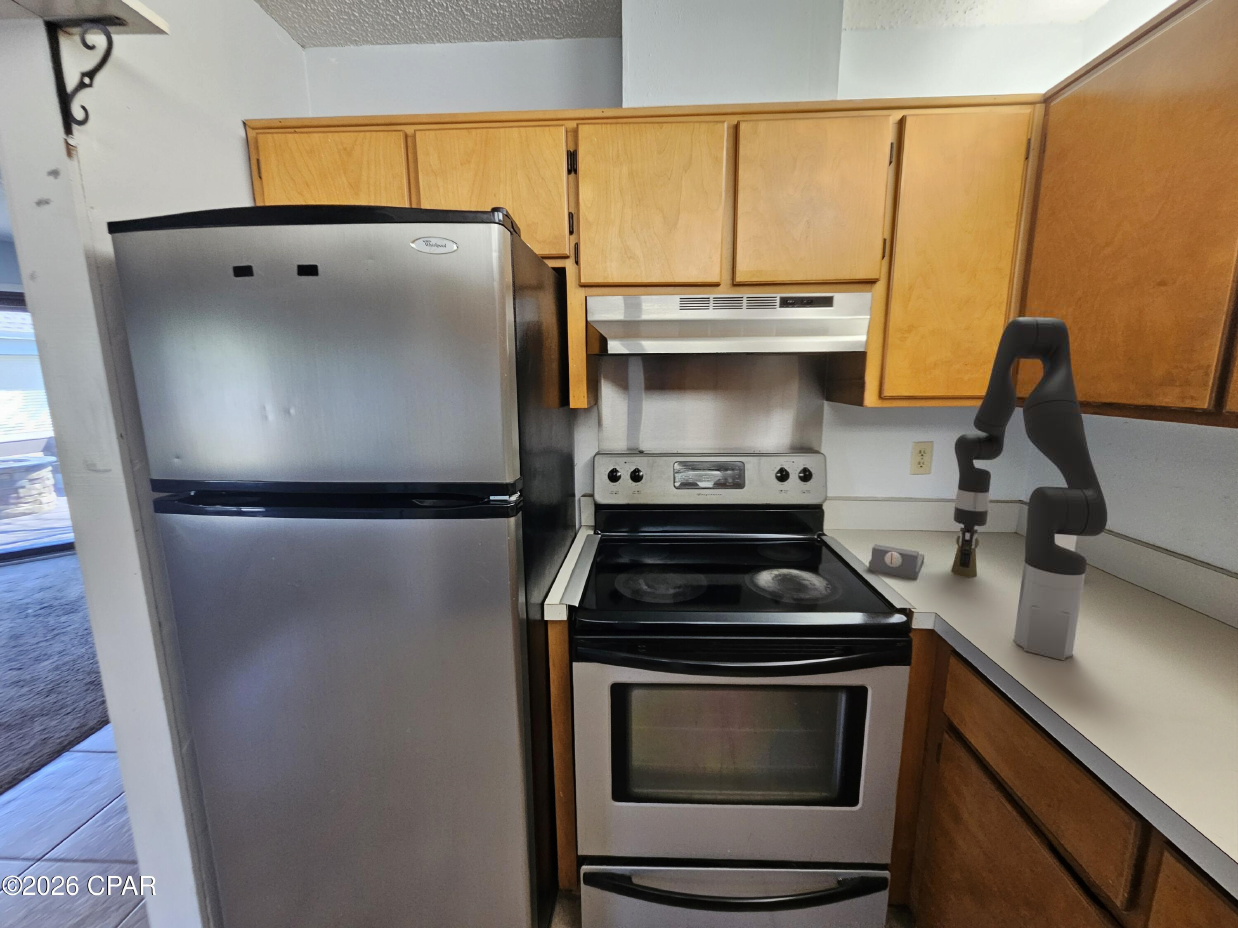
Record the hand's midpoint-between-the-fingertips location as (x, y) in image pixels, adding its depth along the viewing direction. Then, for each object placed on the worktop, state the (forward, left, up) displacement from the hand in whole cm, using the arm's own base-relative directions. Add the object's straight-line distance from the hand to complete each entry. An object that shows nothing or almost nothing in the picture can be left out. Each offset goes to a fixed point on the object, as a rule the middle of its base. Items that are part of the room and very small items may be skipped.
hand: (965, 562), depth 140 cm
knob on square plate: (-5, +16, -3) cm, 17 cm away
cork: (0, 0, -3) cm, 3 cm away
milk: (+18, -20, -3) cm, 27 cm away
